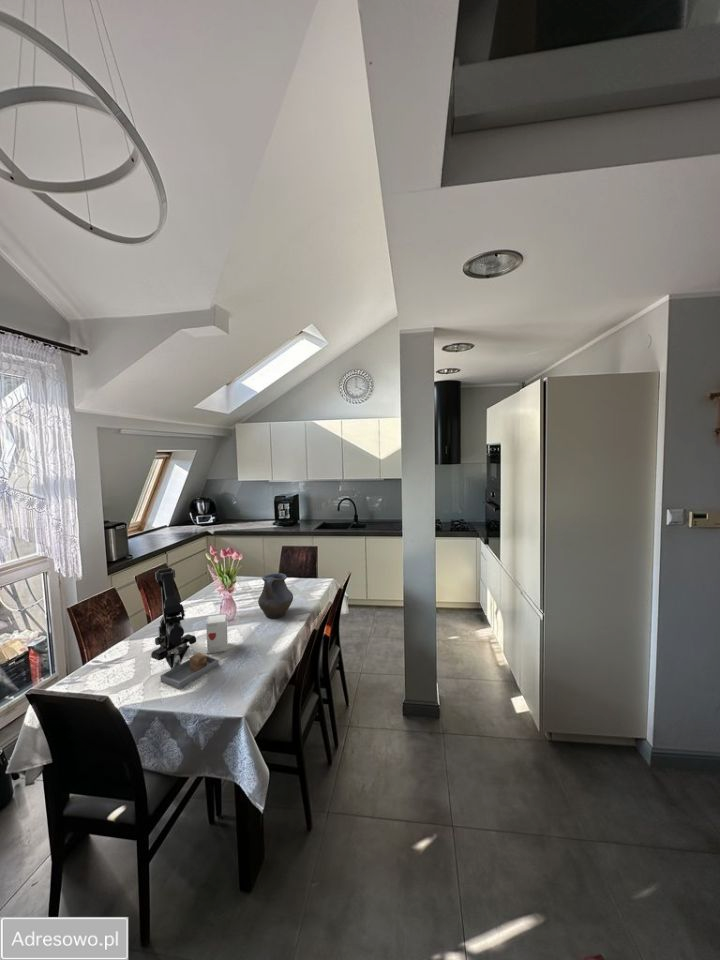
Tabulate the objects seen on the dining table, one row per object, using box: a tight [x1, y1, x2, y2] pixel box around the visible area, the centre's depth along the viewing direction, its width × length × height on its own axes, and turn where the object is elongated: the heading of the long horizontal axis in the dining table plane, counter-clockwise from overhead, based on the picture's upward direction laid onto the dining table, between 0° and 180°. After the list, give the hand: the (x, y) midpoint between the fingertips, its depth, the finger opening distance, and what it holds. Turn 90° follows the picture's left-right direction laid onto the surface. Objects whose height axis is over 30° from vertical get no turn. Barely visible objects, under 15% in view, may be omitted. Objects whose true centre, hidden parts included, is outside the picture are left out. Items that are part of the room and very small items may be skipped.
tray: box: [160, 655, 220, 690], centre depth 169 cm, size 20×12×3 cm, turn 152°
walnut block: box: [188, 652, 208, 671], centre depth 172 cm, size 5×5×5 cm
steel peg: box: [170, 652, 182, 670], centre depth 174 cm, size 4×4×6 cm
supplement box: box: [205, 614, 229, 654], centre depth 190 cm, size 9×9×15 cm
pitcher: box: [257, 572, 294, 619], centre depth 228 cm, size 21×22×25 cm
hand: (175, 665), depth 174 cm, fingers closed on steel peg, 4 cm apart
